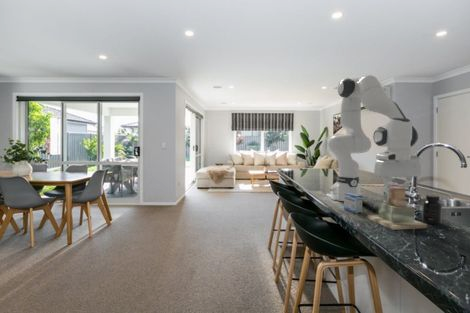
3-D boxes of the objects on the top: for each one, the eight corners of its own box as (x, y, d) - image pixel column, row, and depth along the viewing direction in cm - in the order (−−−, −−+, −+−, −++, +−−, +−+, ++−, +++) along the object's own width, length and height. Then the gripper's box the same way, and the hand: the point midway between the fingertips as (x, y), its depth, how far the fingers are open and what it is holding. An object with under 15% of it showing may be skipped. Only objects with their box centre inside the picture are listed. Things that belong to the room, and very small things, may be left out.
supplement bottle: (424, 219, 125) (425, 193, 124) (442, 222, 120) (444, 195, 119) (420, 222, 120) (421, 195, 119) (439, 225, 115) (441, 198, 114)
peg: (387, 209, 120) (389, 187, 120) (396, 209, 121) (397, 187, 120) (395, 212, 116) (396, 189, 115) (404, 211, 117) (405, 188, 116)
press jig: (367, 218, 126) (368, 201, 125) (397, 216, 128) (398, 200, 128) (392, 229, 110) (393, 210, 109) (427, 227, 112) (428, 209, 112)
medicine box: (343, 209, 141) (344, 193, 141) (349, 208, 143) (350, 192, 142) (355, 213, 134) (356, 196, 133) (362, 212, 136) (362, 195, 135)
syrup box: (398, 212, 136) (400, 183, 135) (386, 211, 138) (387, 183, 137) (394, 209, 142) (395, 182, 141) (382, 208, 143) (383, 181, 142)
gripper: (413, 154, 122) (411, 185, 123) (372, 154, 119) (371, 186, 120) (425, 155, 116) (423, 187, 117) (382, 156, 112) (381, 188, 113)
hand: (396, 186), depth 118 cm, fingers open, 8 cm apart
